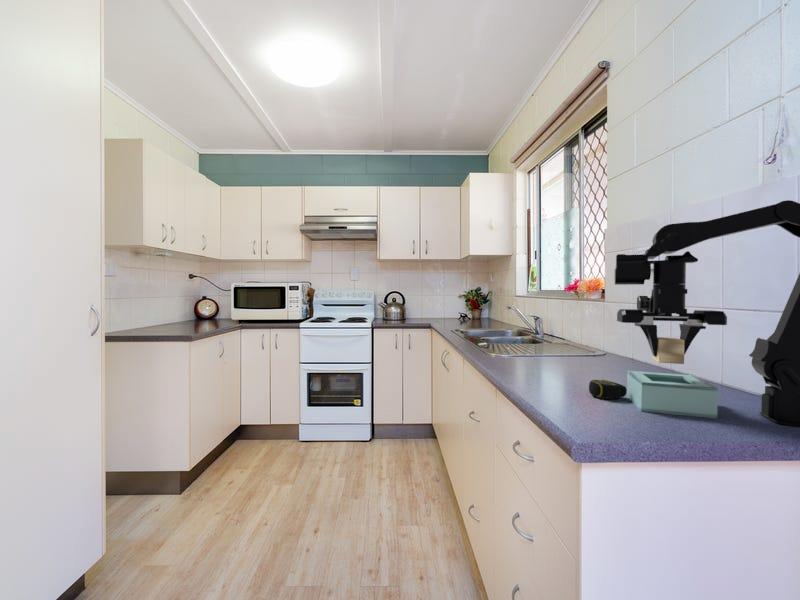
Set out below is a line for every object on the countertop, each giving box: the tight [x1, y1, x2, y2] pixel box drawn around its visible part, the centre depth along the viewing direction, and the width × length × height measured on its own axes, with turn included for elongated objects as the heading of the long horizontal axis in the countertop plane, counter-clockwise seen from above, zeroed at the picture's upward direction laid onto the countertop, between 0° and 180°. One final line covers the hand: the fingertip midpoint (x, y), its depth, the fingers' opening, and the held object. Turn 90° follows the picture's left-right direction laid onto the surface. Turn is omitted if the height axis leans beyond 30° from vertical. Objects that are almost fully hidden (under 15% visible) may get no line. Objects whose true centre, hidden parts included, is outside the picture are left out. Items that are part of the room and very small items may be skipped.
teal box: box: [626, 370, 719, 419], centre depth 84 cm, size 13×13×6 cm
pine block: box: [651, 336, 685, 365], centre depth 83 cm, size 4×4×5 cm
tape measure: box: [588, 379, 627, 400], centre depth 91 cm, size 7×7×4 cm
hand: (667, 356), depth 83 cm, fingers closed on pine block, 4 cm apart
